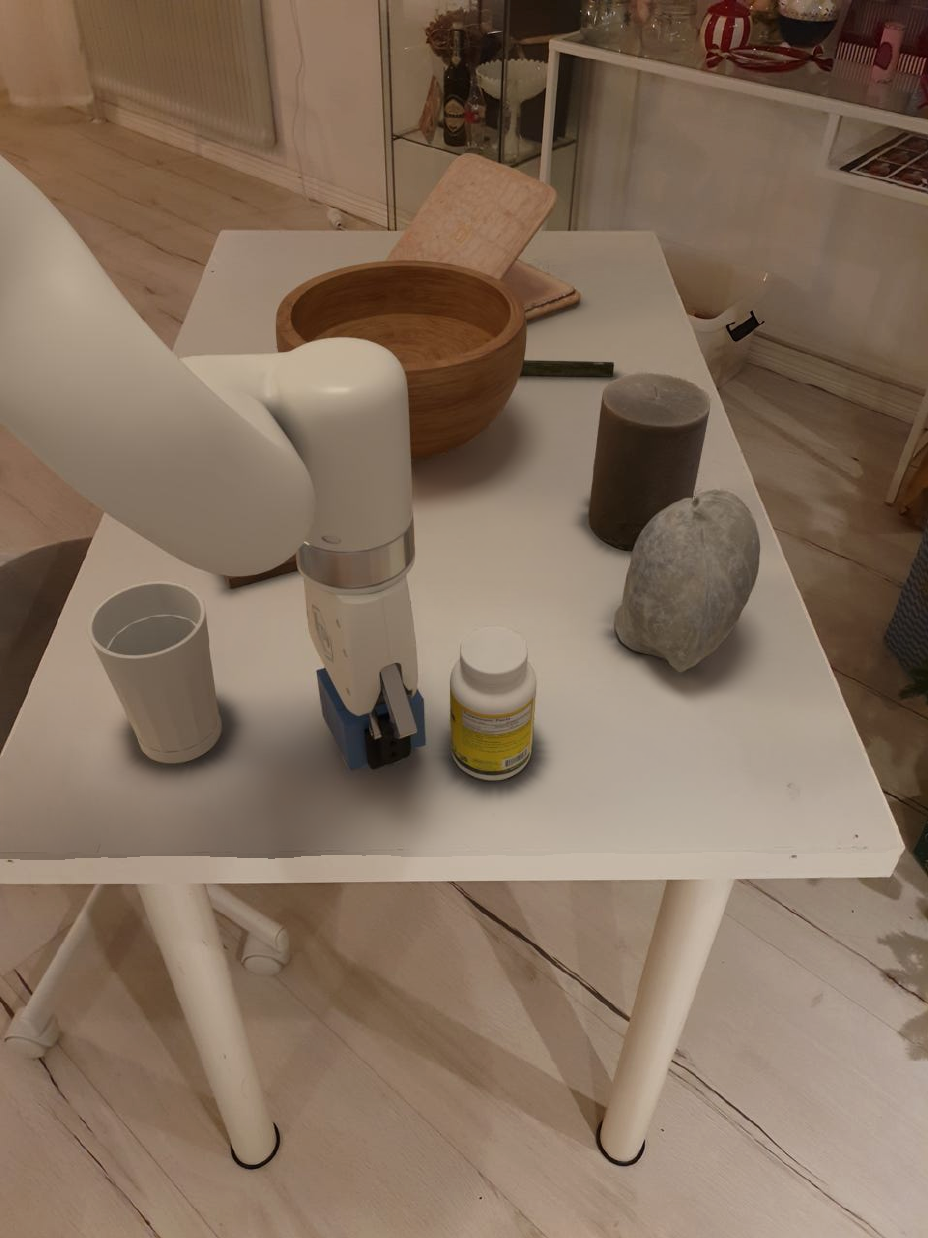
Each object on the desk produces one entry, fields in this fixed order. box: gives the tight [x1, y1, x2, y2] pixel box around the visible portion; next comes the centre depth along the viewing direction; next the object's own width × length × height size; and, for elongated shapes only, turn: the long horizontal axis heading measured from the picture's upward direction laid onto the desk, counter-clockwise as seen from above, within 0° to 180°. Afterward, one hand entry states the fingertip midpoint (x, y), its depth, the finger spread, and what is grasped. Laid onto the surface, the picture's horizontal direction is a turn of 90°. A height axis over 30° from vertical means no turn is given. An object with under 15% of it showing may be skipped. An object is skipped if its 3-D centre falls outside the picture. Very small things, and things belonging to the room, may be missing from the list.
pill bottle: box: [449, 625, 537, 781], centre depth 71 cm, size 6×6×11 cm
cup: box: [87, 580, 223, 764], centre depth 72 cm, size 8×8×12 cm
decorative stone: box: [614, 489, 761, 673], centre depth 79 cm, size 15×10×15 cm
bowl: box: [275, 260, 528, 461], centre depth 102 cm, size 25×25×15 cm
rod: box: [520, 359, 615, 378], centre depth 117 cm, size 31×1×2 cm, turn 89°
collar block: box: [315, 667, 427, 773], centre depth 72 cm, size 6×6×5 cm
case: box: [384, 152, 581, 321], centre depth 128 cm, size 20×21×16 cm
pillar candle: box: [587, 371, 712, 552], centre depth 91 cm, size 10×10×15 cm
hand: (372, 727), depth 73 cm, fingers closed on collar block, 6 cm apart
